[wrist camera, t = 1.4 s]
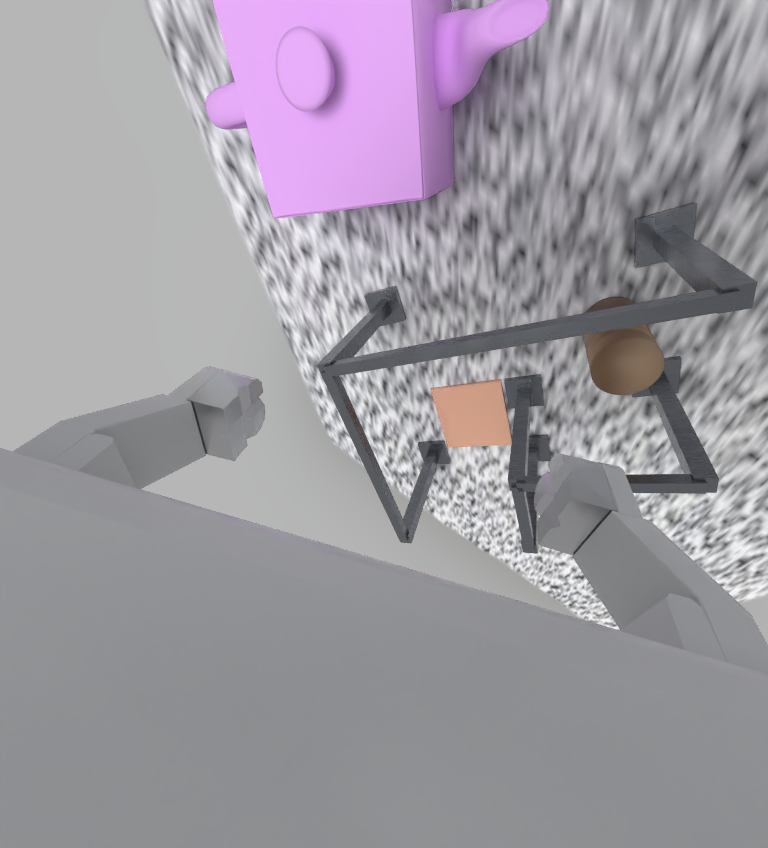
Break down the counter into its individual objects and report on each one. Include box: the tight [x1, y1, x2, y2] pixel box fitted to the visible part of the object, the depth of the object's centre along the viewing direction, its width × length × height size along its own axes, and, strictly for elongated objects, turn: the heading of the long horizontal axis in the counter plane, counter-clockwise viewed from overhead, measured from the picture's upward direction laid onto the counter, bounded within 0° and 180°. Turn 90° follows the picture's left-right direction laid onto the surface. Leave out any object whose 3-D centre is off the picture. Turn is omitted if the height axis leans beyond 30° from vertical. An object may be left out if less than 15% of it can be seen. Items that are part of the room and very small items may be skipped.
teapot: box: [206, 0, 549, 219], centre depth 26 cm, size 15×25×14 cm, turn 98°
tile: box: [431, 379, 512, 447], centre depth 49 cm, size 9×10×1 cm
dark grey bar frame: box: [317, 203, 757, 553], centre depth 37 cm, size 31×27×16 cm
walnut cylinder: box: [583, 297, 665, 395], centre depth 33 cm, size 5×5×10 cm
